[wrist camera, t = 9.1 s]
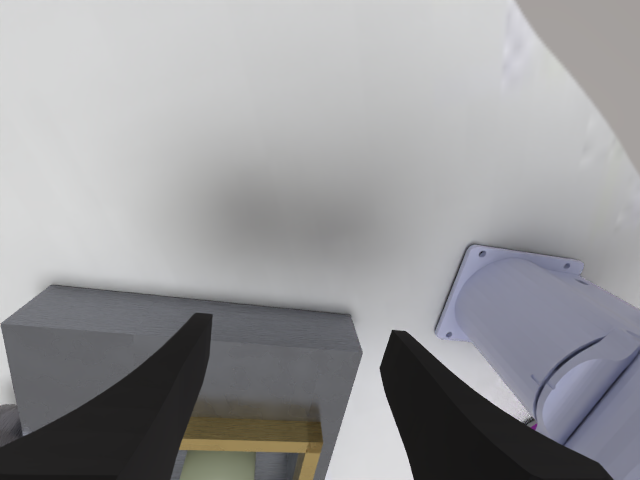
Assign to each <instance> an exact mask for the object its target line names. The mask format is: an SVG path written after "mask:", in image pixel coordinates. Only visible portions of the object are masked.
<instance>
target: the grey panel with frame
mask: <svg viewBox="0 0 640 480" xmlns="http://www.w3.org/2000/svg"><path fill="white" fill-rule="evenodd" d="M195 313H207V314H213V317H212V330H211V343H210V356H209V361H208V365H207V369H206V373H205V377H204V381H203V384H202V387H201V390H200V393H199V395H198V398H197V401H196V404H195V406H194V409H193V412H192V415H191V417H190V420H189V423H188V425H187V428H186V431H185V434H184V436H183V439H182V442H181V445H180V448H179V451H178V454H177V457H176V461H175V465H174V468H173V472H172V476H171V479H170V480H179V479H180V476H181V472H182V469H183V465H184V461H185V458H186V454H187V451H188V450H204V451H247V452H256V461H255V474H254V480H324V479H325V476H326V473H327V470H328V466H329V463H330V460H331V456H332V453H333V450H334V446H335V443H336V440H337V436H338V433H339V430H340V426H341V423H342V420H343V417H344V413H345V410H346V407H347V403H348V400H349V397H350V393H351V390H352V387H353V383H354V380H355V377H356V373H357V370H358V367H359V364H360V360H361V357H362V354H363V352H362V349H361V346H360V343H359V340H358V337H357V334H356V330H355V327H354V324H353V321H352V318H351V315H345V314H335V313H325V312H316V311H306V310H296V309H286V308H276V307H266V306H256V305H246V304H236V303H226V302H216V301H206V300H196V299H186V298H176V297H166V296H156V295H146V294H136V293H126V292H117V291H107V290H97V289H87V288H77V287H67V286H57V285H50V286H49V287H48V288H46V289H45V290H44V291H43V292H41V293H40V294H39V295H37V296H36V297H35V298H33V299H32V300H31V301H29V302H28V303H27V304H26V305H24V306H23V307H22V308H20V309H19V310H18V311H16V312H15V313H14V314H12V315H11V316H10V317H9V318H7V319H6V320H5V321H3V322H2V323H1V329H2V334H3V339H4V343H5V348H6V353H7V358H8V363H9V368H10V373H11V378H12V383H13V388H14V393H15V398H16V402H17V405H15V404H5V405H1V406H0V447H2V446H4V445H6V444H8V443H10V442H12V441H15V440H17V439H19V438H21V437H23V436H25V435H27V434H29V433H31V432H34V431H36V430H38V429H40V428H42V427H43V426H45V425H47V424H49V423H51V422H53V421H55V420H57V419H59V418H60V417H62V416H64V415H66V414H68V413H70V412H71V411H73V410H75V409H77V408H78V407H80V406H82V405H83V404H85V403H87V402H88V401H90V400H91V399H93V398H95V397H96V396H98V395H99V394H101V393H102V392H104V391H105V390H107V389H108V388H110V387H111V386H113V385H114V384H116V383H117V382H119V381H120V380H121V379H123V378H124V377H125V376H127V375H128V374H129V373H131V372H132V371H133V370H135V369H136V368H137V367H138V366H140V365H141V364H142V363H143V362H144V361H146V360H147V359H148V358H149V357H150V356H151V355H153V354H154V353H155V352H156V351H157V350H158V349H160V348H161V347H162V346H163V345H164V344H165V343H166V342H167V341H168V340H169V339H170V338H171V337H172V336H173V335H174V334H175V333H176V332H177V331H178V330H179V329H180V328H181V327H182V326H183V325H184V324H185V323H186V322H187V321H188V320H189V318H190V317H191V316H192V315H193V314H195Z"/></svg>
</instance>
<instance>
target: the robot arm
mask: <svg viewBox="0 0 640 480" xmlns="http://www.w3.org/2000/svg"><path fill="white" fill-rule="evenodd" d="M481 251H483V252H482V254H480V255H479V253H480V252H481ZM564 265H565V266H564ZM583 268H584V263H583V262H581V261H579V260H575V259H568V258H561V257H555V256H548V255H541V254H535V253H528V252H522V251H515V250H508V249H502V248H495V247H488V246H482V245H472V246H470V247H469V248H468V249H467V252H466V254H465V257H464V259H463V262H462V264H461V267H460V269H459V272H458V274H457V277H456V280H455V282H454V285H453V287H452V290H451V292H450V295H449V297H448V300H447V302H446V305H445V308H444V310H443V313H442V315H441V318H440V320H439V323H438V325H437V328H436V330H435V334H436V336H437V337H438V338H439V339H446V340H457V341H468V342H472V343H473V344H474V345H475V346H476V348H477V349H478V350H479V351H480V353H481V354H482V355H483V356H484V358H485V359H486V360H487V361H488V363H489V364H490V365H491V366H492V367H493V369H494V370H495V371H496V372H497V374H498V375H499V376H500V377H501V379H502V380H503V381H504V382H505V384H506V385H507V386H508V387H509V389H510V390H511V391H512V392H513V393H514V395H515V396H516V397H517V398H518V400H519V401H520V402H521V403H522V405H523V406H524V407H525V408H526V410H527V411H528V412H529V413H530V415H531V416H532V417H533V418H534V419H535V421H536V422H537V427H536V430H534V429H532V428H530V427H529V426H527V425H525V424H523V423H522V422H520V421H519V420H517V419H515V418H514V417H512V416H511V415H509V414H507V413H506V412H504V411H503V410H501V409H500V408H498V407H497V406H495V405H494V404H492V403H491V402H490V401H488V400H487V399H485V398H484V397H483V396H481V395H480V394H479V393H477V392H476V391H475V390H473V389H472V388H471V387H469V386H468V385H467V384H466V383H464V382H463V381H462V380H461V379H460V378H458V377H457V376H456V375H455V374H453V373H452V372H451V371H450V370H449V369H448V368H447V367H445V366H444V365H443V364H442V363H441V362H440V361H439V360H438V359H436V358H435V357H434V356H433V355H432V354H431V353H430V352H429V351H428V350H427V349H425V348H424V347H423V346H422V345H421V344H420V343H419V342H418V341H417V340H416V339H415V338H413V337H412V336H411V335H410V334H409V333H407V332H406V331H398V330H392V332H391V335H390V338H389V341H388V344H387V347H386V350H385V353H384V356H383V359H382V362H381V366H380V373H381V377H382V382H383V386H384V391H385V394H386V397H387V400H388V403H389V405H390V408H391V411H392V414H393V417H394V419H395V422H396V425H397V427H398V430H399V433H400V436H401V438H402V441H403V444H404V447H405V450H406V453H407V456H408V459H409V463H410V466H411V470H412V474H413V478H414V480H640V309H638V308H636V307H634V306H632V305H631V304H629V303H627V302H625V301H624V300H622V299H620V298H618V297H617V296H615V295H613V294H611V293H609V292H608V291H606V290H604V289H602V288H601V287H599V286H597V285H595V284H594V283H592V282H590V281H588V280H586V279H585V278H583V277H581V276H580V274H581V272H582V270H583ZM212 317H213V314H207V313H195V314H193V315H192V316H191V317H190V318H189V320H188V321H187V322H186V323H185V324H184V325H183V326H182V327H181V328H180V329H179V330H178V331H177V332H176V333H175V334H174V335H173V336H172V337H171V338H170V339H169V340H168V341H167V342H166V343H165V344H164V345H163V346H162V347H161V348H160V349H158V350H157V351H156V352H155V353H154V354H153V355H151V356H150V357H149V358H148V359H147V360H146V361H144V362H143V363H142V364H141V365H140V366H138V367H137V368H136V369H135V370H133V371H132V372H131V373H129V374H128V375H127V376H125V377H124V378H123V379H121V380H120V381H119V382H117V383H116V384H114V385H113V386H111V387H110V388H108V389H107V390H105V391H104V392H102V393H101V394H99V395H98V396H96V397H95V398H93V399H91V400H90V401H88V402H87V403H85V404H83V405H82V406H80V407H78V408H77V409H75V410H73V411H71V412H70V413H68V414H66V415H64V416H62V417H60V418H59V419H57V420H55V421H53V422H51V423H49V424H47V425H45V426H43V427H42V428H40V429H38V430H36V431H34V432H31V433H29V434H27V435H25V436H23V437H21V438H19V439H17V440H15V441H12V442H10V443H8V444H6V445H4V446H2V447H0V480H170V479H171V476H172V472H173V468H174V465H175V461H176V457H177V454H178V451H179V448H180V445H181V442H182V439H183V436H184V434H185V431H186V428H187V425H188V423H189V420H190V417H191V415H192V412H193V409H194V406H195V404H196V401H197V398H198V395H199V393H200V390H201V387H202V384H203V381H204V377H205V373H206V369H207V365H208V361H209V356H210V343H211V330H212ZM448 332H449V333H448ZM447 333H448V334H447Z"/></svg>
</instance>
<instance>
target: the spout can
mask: <svg viewBox="0 0 640 480" xmlns="http://www.w3.org/2000/svg"><path fill="white" fill-rule="evenodd" d="M255 461H256V452H247V451H204V450H188V451H187V454H186V458H185V461H184V465H183V469H182V472H181V476H180V479H179V480H254V474H255Z"/></svg>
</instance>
